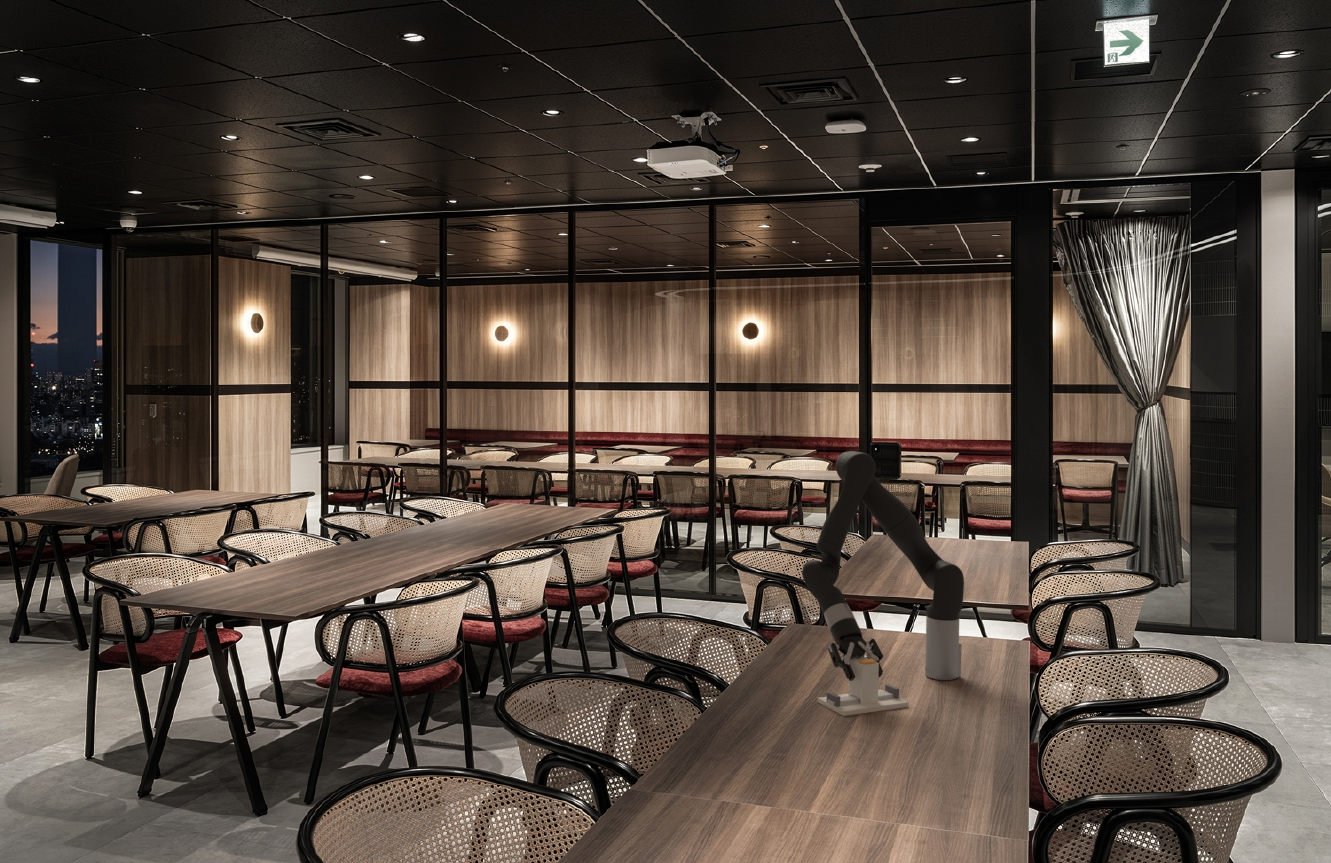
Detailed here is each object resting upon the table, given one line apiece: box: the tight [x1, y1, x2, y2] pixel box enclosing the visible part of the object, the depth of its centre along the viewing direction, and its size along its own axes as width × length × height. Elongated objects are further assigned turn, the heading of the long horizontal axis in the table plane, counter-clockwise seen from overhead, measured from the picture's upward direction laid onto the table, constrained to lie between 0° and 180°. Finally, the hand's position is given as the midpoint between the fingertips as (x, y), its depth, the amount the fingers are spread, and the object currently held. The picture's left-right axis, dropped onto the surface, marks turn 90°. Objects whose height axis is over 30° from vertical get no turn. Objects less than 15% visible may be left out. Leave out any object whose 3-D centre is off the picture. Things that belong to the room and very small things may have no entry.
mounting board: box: [817, 683, 910, 717], centre depth 264 cm, size 20×12×4 cm, turn 114°
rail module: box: [847, 658, 880, 704], centre depth 264 cm, size 5×6×11 cm
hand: (866, 677), depth 263 cm, fingers open, 8 cm apart
